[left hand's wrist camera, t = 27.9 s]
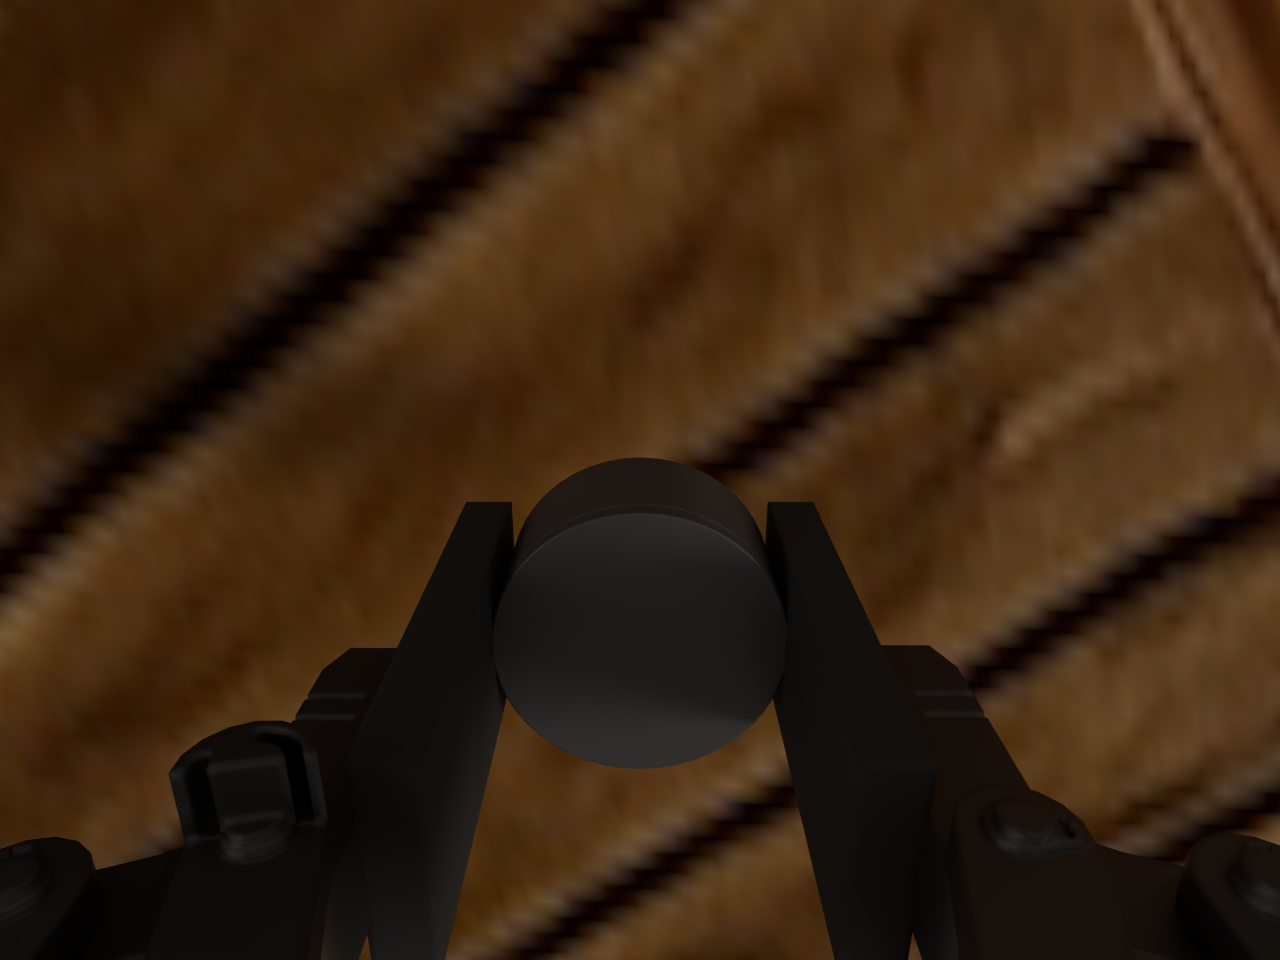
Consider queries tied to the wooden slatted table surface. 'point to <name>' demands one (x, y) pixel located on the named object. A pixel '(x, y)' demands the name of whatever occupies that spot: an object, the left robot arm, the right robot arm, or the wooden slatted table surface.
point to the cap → (640, 616)
